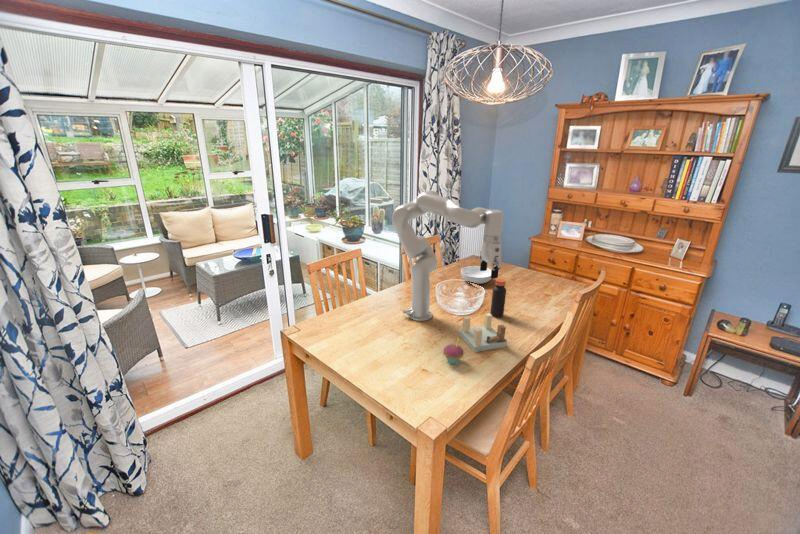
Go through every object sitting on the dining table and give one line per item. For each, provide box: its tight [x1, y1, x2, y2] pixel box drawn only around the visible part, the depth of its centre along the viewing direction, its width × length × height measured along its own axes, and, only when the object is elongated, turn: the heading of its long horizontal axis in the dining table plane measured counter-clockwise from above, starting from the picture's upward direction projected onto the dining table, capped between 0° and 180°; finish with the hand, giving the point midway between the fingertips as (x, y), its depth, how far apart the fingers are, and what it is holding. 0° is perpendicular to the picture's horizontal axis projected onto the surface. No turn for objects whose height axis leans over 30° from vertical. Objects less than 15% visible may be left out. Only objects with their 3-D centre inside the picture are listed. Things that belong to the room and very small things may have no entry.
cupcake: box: [442, 337, 465, 365], centre depth 147 cm, size 9×8×12 cm
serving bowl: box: [460, 265, 492, 285], centre depth 231 cm, size 21×21×7 cm
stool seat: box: [458, 312, 508, 353], centre depth 163 cm, size 16×16×10 cm
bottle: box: [489, 278, 507, 318], centre depth 184 cm, size 7×7×20 cm
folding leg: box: [487, 324, 507, 342], centre depth 158 cm, size 8×2×7 cm, turn 104°
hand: (488, 274), depth 161 cm, fingers open, 9 cm apart
